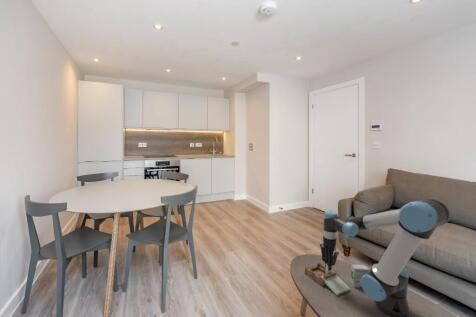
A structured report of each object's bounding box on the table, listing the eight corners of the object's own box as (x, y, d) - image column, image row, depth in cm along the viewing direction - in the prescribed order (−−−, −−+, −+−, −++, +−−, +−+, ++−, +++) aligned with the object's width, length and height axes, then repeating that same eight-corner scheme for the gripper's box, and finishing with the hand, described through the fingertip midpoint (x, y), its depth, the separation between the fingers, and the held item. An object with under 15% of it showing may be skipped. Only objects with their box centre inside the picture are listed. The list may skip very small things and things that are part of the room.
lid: (349, 290, 128) (351, 285, 127) (336, 295, 124) (338, 290, 123) (332, 273, 139) (333, 269, 138) (320, 278, 134) (321, 273, 133)
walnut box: (338, 281, 137) (338, 274, 136) (322, 287, 131) (323, 280, 131) (319, 268, 150) (319, 262, 150) (304, 273, 144) (305, 267, 144)
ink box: (364, 283, 135) (365, 265, 134) (368, 288, 131) (369, 269, 130) (349, 282, 136) (351, 263, 135) (353, 287, 131) (354, 268, 130)
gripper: (343, 240, 130) (341, 278, 131) (325, 231, 141) (323, 267, 143) (334, 242, 126) (332, 281, 128) (317, 233, 138) (315, 270, 140)
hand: (327, 274), depth 136 cm, fingers closed
